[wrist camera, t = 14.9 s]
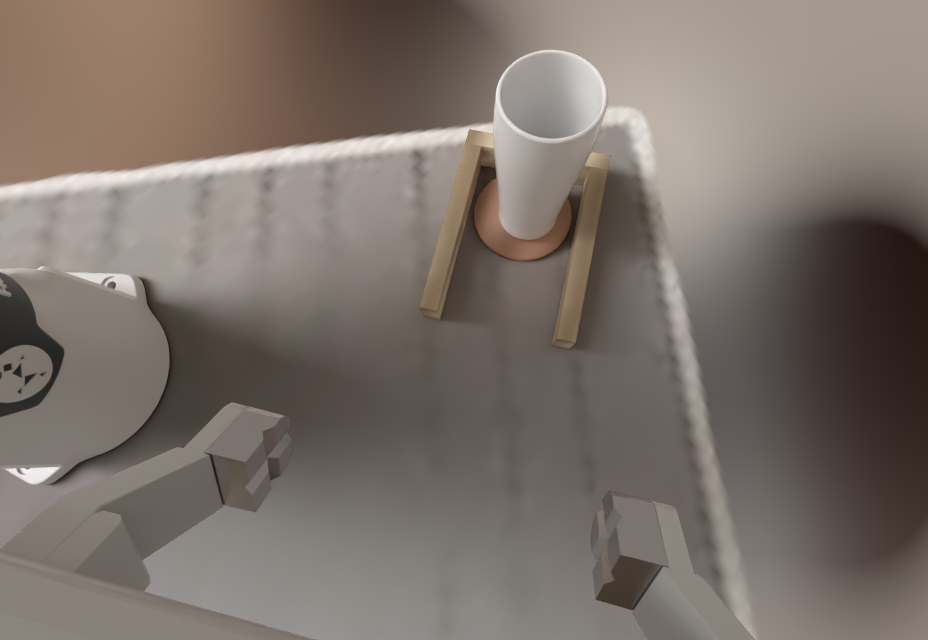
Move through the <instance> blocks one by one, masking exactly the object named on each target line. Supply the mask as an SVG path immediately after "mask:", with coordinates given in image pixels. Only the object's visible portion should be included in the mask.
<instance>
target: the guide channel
mask: <svg viewBox="0 0 928 640" xmlns="http://www.w3.org/2000/svg"><path fill="white" fill-rule="evenodd" d="M610 157H611V155H606V154H601V153H595V152H591V154H590V156H589V158H588V160H587V162H586V164H585V166H584V168H583V170H582V172H581V173H580V175H579V177H578V179H577V181H576V183H575V184H579V185H583V190H582V195H581V200H580V205H579V210H578V215H577V220H576V225H575V230H574V235H573V240H572V245H571V250H570V255H569V260H568V265H567V270H566V275H565V280H564V285H563V290H562V295H561V300H560V305H559V310H558V315H557V320H556V325H555V330H554V335H553V340H552V345H551V346H556V347H560V348H564V349H569V348H571V347H572V346H573V345H574V344H575V343H576V339H577V333H578V328H579V323H580V317H581V312H582V307H583V301H584V296H585V290H586V285H587V280H588V274H589V269H590V264H591V258H592V253H593V248H594V242H595V237H596V232H597V226H598V221H599V215H600V210H601V205H602V199H603V194H604V189H605V183H606V178H607V173H608V167H609V162H610ZM481 166H485V167H491V168H496V167H495V157H494V144H493V134H492V133H486V132H481V131H476V130H470V129H469V132H468V136H467V139H466V143H465V146H464V150H463V153H462V157H461V161H460V164H459V168H458V171H457V175H456V178H455V182H454V185H453V189H452V193H451V196H450V200H449V203H448V207H447V210H446V214H445V217H444V221H443V225H442V228H441V232H440V235H439V239H438V242H437V246H436V249H435V253H434V257H433V260H432V264H431V267H430V271H429V274H428V278H427V282H426V285H425V289H424V292H423V296H422V299H421V303H420V306H419V307H420V309H421V311H422V313H423V315H424V316H425V317H429V318H434V319H438V320H440V319H441V315H442V312H443V308H444V304H445V300H446V297H447V293H448V289H449V285H450V282H451V278H452V274H453V270H454V267H455V263H456V259H457V255H458V252H459V248H460V244H461V240H462V237H463V233H464V229H465V225H466V222H467V218H468V214H469V210H470V207H471V203H472V199H473V195H474V192H475V188H476V184H477V180H478V177H479V173H480V169H481ZM498 211H499V198H498V187H497V178H495V179H494V180H492V181H491V182H490V183H488V184H487V185H486V186H485V188H484V189H483V190H482V191H481V193H480V195H479V197H478V199H477V201H476V205H475V211H474V219H475V226H476V230H477V232H478V235H479V237H480V238H481V240H482V241H483V243H484V244H485V245H486V246H487V247H488V248H489V249H490V250H491V251H493V252H494V253H496V254H497V255H499V256H501V257H504V258H506V259H510V260H514V261H532V260H537V259H540V258H542V257H545V256H547V255H549V254H550V253H552V252H553V251H555V250H556V249H557V248H558V247H559V246H560V245H561V243H562V242H563V241H564V239H565V237H566V235H567V233H568V231H569V228H570V225H571V219H572V211H571V206H570V203H569V200H568V198H567V199H566V201H565V203H564V205H563V207H562V209H561V211H560V213H559V215H558V217H557V220H556V223H555V225H554V226H553V228H552V229H551V230H550V231H549V232H548V233H547V234H546V235H544V236H543V237H541V238H538V239H535V240H521V239H518V238H515V237H513V236H512V235H510V234H509V233H508V232H507V231H506V230H505V229H504V228H503V226H502V225H501V222H500V220H499V213H498Z"/></svg>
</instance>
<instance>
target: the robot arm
mask: <svg viewBox="0 0 928 640" xmlns="http://www.w3.org/2000/svg"><path fill="white" fill-rule="evenodd" d="M115 285H116V287H115V288H114V286H115ZM113 288H114V289H113ZM168 372H169V347H168V342H167V339H166V335H165V333H164V331H163V329H162V327H161V325H160V323H159V322H158V320H157V319H156V318H155V316H154V315H153V314H152V312H151V311H150V309H149V307H148V305H147V300H146V294H145V289H144V285H143V283H142V281H141V280H140V279H139V278H138V277H135V276H132V275H128V274H115V273H82V272H63V271H60V270H57V269H53V268H50V267H45V266H41V267H40V268H38V269H29V268H13V269H0V469H5V470H7V471H8V472H10V473H12V474H13V475H15V476H17V477H18V478H20V479H22V480H23V481H25V482H27V483H29V484H31V485H48V484H51V483H53V482H55V481H56V480H58V479H59V478H61V477H62V476H63V475H65V474H66V473H67V472H68V471H69V470H71V469H72V468H73V467H74V466H75V465H76V464H78V463H80V462H81V461H84V460H86V459H88V458H91V457H94V456H97V455H100V454H102V453H105V452H107V451H109V450H111V449H113V448H115V447H116V446H118V445H120V444H121V443H123V442H124V441H126V440H127V439H128V438H129V437H131V436H132V435H133V434H134V433H135V432H136V431H137V430H138V429H139V428H140V427H141V426H142V425H143V424H144V423H145V422H146V420H147V419H148V418H149V417H150V415H151V414H152V412H153V411H154V409H155V407H156V406H157V404H158V402H159V400H160V398H161V396H162V394H163V391H164V388H165V385H166V382H167V377H168ZM290 427H291V426H290V420H289V417H287V416H284V415H280V414H276V413H273V412H269V411H265V410H261V409H257V408H254V407H249V406H245V405H241V404H237V403H233V402H232V403H230V404H227V405H226V406H224V407H223V408H222V409H221V410H220V411H219V412H218V413H217V414H216V415H215V416H214V417H213V418H212V419H211V421H210V422H209V423H208V424H207V425H206V426H205V427H204V428H203V429H202V430H201V431H200V432H199V433H198V434H197V435H196V436H195V437H194V438H193V439H192V440H191V441H190V442H189V443H188V444H187V445H186V446H185V447H184V448H181V447H176V448H174V449H172V450H169V451H167V452H165V453H162V454H160V455H158V456H155V457H153V458H151V459H148V460H146V461H144V462H141V463H139V464H137V465H134V466H132V467H130V468H127V469H125V470H122V471H120V472H118V473H115V474H113V475H111V476H108V477H106V478H104V479H101V480H99V481H97V482H94V483H92V484H90V485H87V486H85V487H83V488H80V489H78V490H76V491H73V492H71V493H69V494H66V495H64V496H62V497H60V498H59V499H58V500H57V501H55V502H54V503H53V504H52V505H51V506H50V507H49V508H47V509H46V510H45V511H44V512H43V513H42V514H40V515H39V516H38V517H37V518H36V519H35V520H33V521H32V522H31V523H30V524H29V525H28V526H26V527H25V528H24V529H23V530H22V531H21V532H20V533H18V534H17V535H16V536H15V537H14V538H13V539H11V540H10V541H9V542H8V543H7V544H6V545H4V546H3V547H2V548H1V549H0V640H315V639H311V638H307V637H304V636H300V635H297V634H293V633H290V632H286V631H283V630H279V629H275V628H272V627H268V626H265V625H261V624H258V623H254V622H250V621H247V620H243V619H240V618H236V617H233V616H229V615H226V614H222V613H218V612H215V611H211V610H208V609H204V608H201V607H197V606H194V605H190V604H186V603H183V602H179V601H176V600H172V599H169V598H165V597H161V596H158V595H154V594H151V593H147V592H144V590H145V589H146V588H147V587H148V585H149V584H150V576H149V574H148V572H147V570H146V567H145V565H144V563H143V561H142V560H143V559H145V558H146V557H148V556H149V555H151V554H152V553H154V552H155V551H157V550H158V549H160V548H162V547H163V546H165V545H166V544H168V543H169V542H171V541H172V540H174V539H175V538H177V537H178V536H180V535H181V534H183V533H184V532H186V531H187V530H189V529H190V528H192V527H193V526H195V525H196V524H198V523H199V522H201V521H202V520H204V519H205V518H207V517H209V516H210V515H212V514H213V513H215V512H216V511H218V510H219V509H221V508H222V507H223V505H226V506H230V507H235V508H239V509H243V510H248V511H252V512H256V511H257V510H258V508H259V507H260V505H261V504H262V502H263V501H264V499H265V498H266V497H267V495H268V494H269V492H270V491H271V482H270V481H271V480H273V479H275V478H276V477H278V476H280V475H281V474H282V473H283V471H284V470H285V468H286V467H287V465H288V462H289V460H290V457H291V454H292V447H293V444H292V438H291V437H290V436H289V435H288V433H287V431H288V430H289V428H290ZM602 501H603V509H602V510H600V511H598V512H597V513H596V515H595V518H594V520H593V525H592V530H591V551H592V553H593V555H594V556H595V558H596V559H597V563H596V565H595V567H594V569H593V576H594V588H595V600H599V601H602V602H606V603H609V604H613V605H616V606H620V607H623V608H627V609H630V610H633V612H632V613H633V614H634V616H635V618H636V620H637V621H638V623H639V625H640V627H641V629H642V630H643V632H644V634H645V636H646V637H647V639H648V640H755V639H754V638H753V637H752V636H751V635H750V633H749V632H748V631H747V630H746V629H745V627H744V626H743V625H742V624H741V623H740V621H739V620H738V619H737V618H736V617H735V615H734V614H733V613H732V612H731V611H730V609H729V608H728V607H727V606H726V605H725V603H724V602H723V601H722V600H721V599H720V597H719V596H718V595H717V594H716V593H715V591H714V590H713V589H712V588H711V587H710V585H709V584H708V583H707V582H706V581H705V579H704V578H703V577H702V576H699V575H696V574H695V573H694V569H693V566H692V562H691V559H690V555H689V552H688V548H687V545H686V541H685V538H684V534H683V531H682V527H681V524H680V520H679V517H678V513H677V510H676V509H675V507H674V506H672V505H668V504H663V503H659V502H655V501H650V500H648V499H643V498H638V497H634V496H629V495H625V494H620V493H616V492H611V491H608V492H607V493H606V494H605V496H604V498H603V500H602Z"/></svg>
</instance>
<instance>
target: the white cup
mask: <svg viewBox="0 0 928 640" xmlns="http://www.w3.org/2000/svg"><path fill="white" fill-rule="evenodd" d="M607 103H608V92H607V87H606V84H605V81H604V79H603V77H602V75H601V74H600V73H599V71H598V70H597V69H596V68H595V67H594V66H593V65H592V64H591V63H590V62H589V61H587V60H586V59H584V58H582V57H580V56H578V55H576V54H573V53H570V52H566V51H560V50H543V51H538V52H533V53H530V54H527V55H525V56H523V57H521V58H519V59H518V60H516V61H515V62H514V63H512V64H511V65H510V66H509V67H508V68H507V69H506V71H505V72H504V73H503V75H502V77H501V78H500V80H499V83H498V86H497V90H496V99H495V108H494V123H493V144H494V157H495V167H496V177H497V187H498V198H499V211H498V213H499V220H500V222H501V225H502V226H503V228H504V229H505V230H506V231H507V232H508V233H509V234H510V235H512V236H513V237H515V238H518V239H521V240H535V239H538V238H541V237H543V236H544V235H546V234H547V233H548V232H549V231H550V230H551V229H552V228H553V226H554V225H555V223H556V220H557V217H558V215H559V213H560V211H561V209H562V207H563V205H564V203H565V201H566V199H567V197H568V195H569V194H570V192H571V190H572V188H573V186H574V184H575V183H576V181H577V179H578V177H579V175H580V173H581V172H582V170H583V168H584V166H585V164H586V162H587V160H588V158H589V156H590V154H591V151H592V149H593V147H594V144H595V142H596V139H597V136H598V133H599V130H600V127H601V124H602V121H603V118H604V114H605V112H606V108H607Z"/></svg>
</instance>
